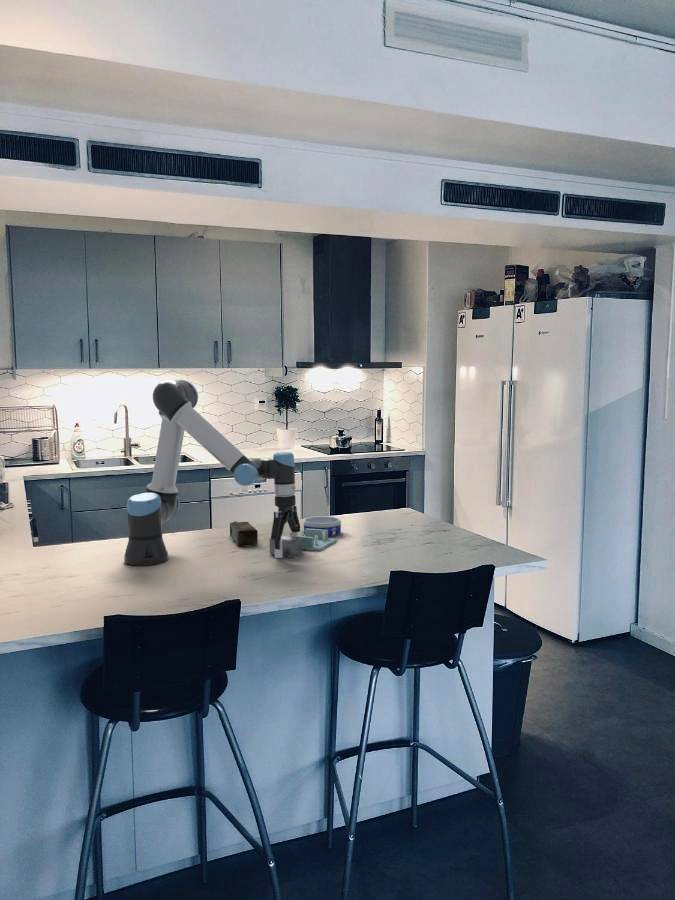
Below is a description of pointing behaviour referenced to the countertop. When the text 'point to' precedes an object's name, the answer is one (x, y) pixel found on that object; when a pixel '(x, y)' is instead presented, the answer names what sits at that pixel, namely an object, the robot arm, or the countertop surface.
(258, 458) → the robot arm
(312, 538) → the pin tray
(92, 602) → the countertop surface
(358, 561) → the countertop surface
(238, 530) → the beverage carton
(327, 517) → the dog bowl
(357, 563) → the countertop surface
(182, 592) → the countertop surface
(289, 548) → the block
